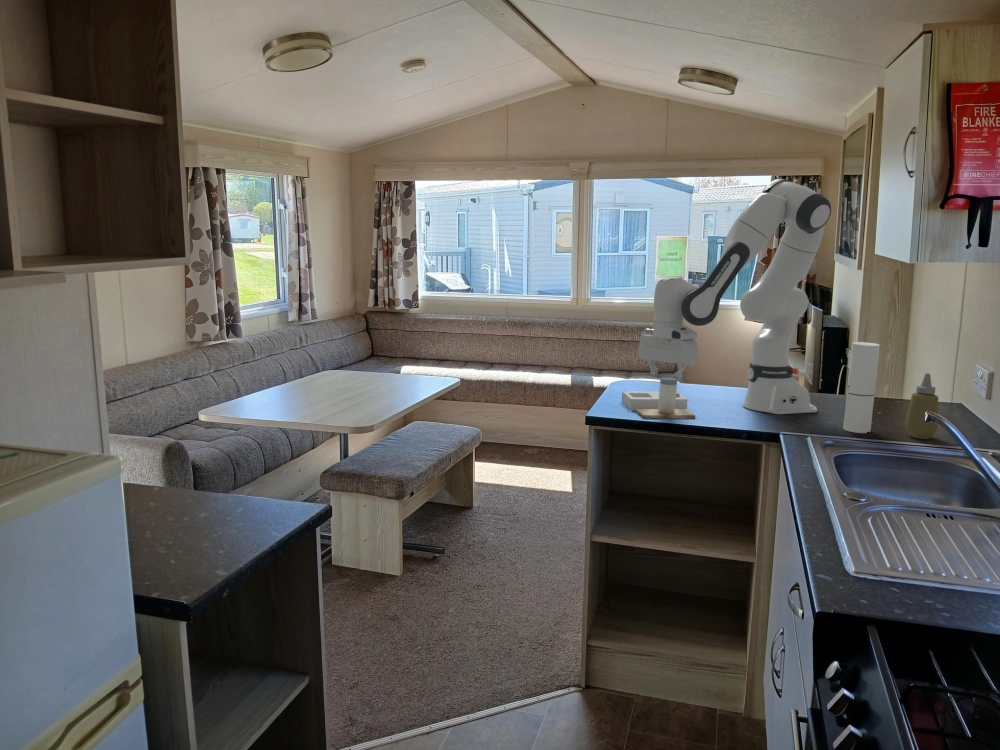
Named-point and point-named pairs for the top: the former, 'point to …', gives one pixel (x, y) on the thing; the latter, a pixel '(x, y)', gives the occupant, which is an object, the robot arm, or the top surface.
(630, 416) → the top surface
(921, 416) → the squeeze bottle
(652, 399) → the block
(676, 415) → the cork pad
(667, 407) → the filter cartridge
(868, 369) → the cylindrical container
